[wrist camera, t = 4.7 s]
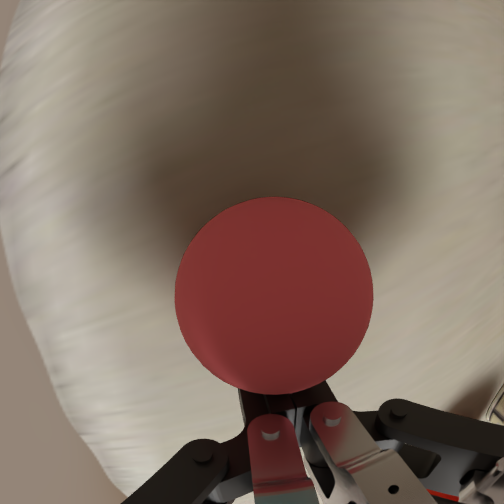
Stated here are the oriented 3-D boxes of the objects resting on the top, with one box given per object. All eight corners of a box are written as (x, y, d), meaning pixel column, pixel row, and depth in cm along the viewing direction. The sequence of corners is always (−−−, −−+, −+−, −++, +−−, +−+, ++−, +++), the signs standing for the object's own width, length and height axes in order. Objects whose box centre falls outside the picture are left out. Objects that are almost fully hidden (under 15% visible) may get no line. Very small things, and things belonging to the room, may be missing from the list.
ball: (186, 274, 11) (162, 162, 7) (316, 261, 12) (356, 155, 8) (196, 412, 8) (153, 387, 4) (352, 386, 9) (446, 331, 5)
